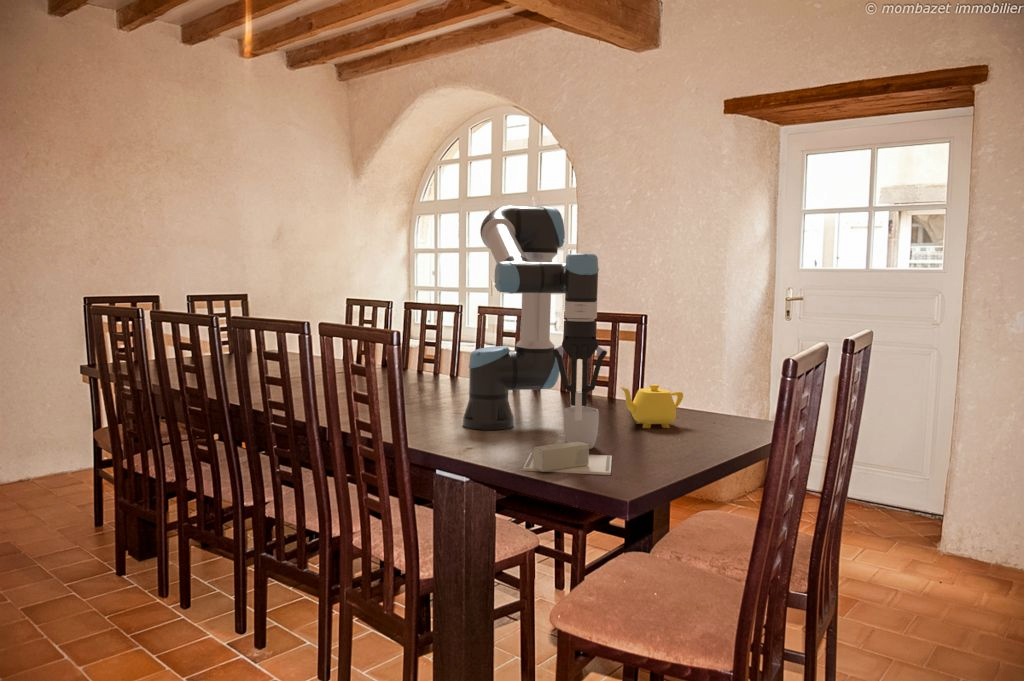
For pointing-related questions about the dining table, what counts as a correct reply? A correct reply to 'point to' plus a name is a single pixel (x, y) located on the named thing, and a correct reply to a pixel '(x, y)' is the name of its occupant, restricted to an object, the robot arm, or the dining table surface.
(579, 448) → the box
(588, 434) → the mug
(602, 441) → the dining table surface
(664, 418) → the teapot
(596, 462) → the white tray
